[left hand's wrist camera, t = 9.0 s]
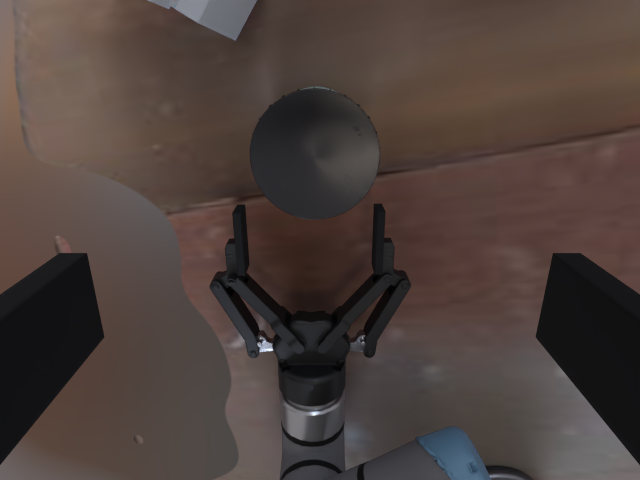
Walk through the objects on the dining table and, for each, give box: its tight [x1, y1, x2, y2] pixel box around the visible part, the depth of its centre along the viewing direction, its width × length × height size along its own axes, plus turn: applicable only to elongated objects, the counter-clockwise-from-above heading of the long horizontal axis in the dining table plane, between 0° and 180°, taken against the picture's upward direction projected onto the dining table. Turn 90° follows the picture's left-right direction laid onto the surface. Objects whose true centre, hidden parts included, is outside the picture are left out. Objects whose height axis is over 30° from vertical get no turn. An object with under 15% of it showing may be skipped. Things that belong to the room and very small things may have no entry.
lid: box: [250, 87, 380, 219], centre depth 33 cm, size 10×10×2 cm
